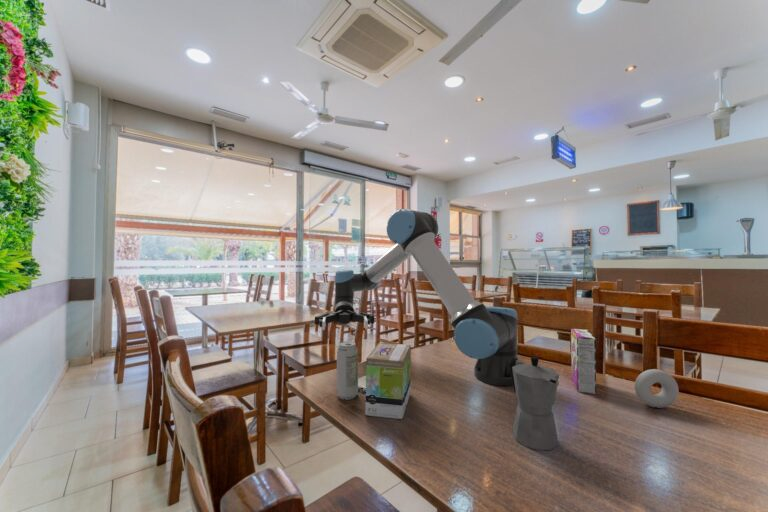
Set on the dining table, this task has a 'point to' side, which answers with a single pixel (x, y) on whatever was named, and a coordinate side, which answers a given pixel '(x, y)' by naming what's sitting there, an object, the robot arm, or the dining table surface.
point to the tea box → (388, 380)
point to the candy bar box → (583, 360)
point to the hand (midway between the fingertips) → (345, 325)
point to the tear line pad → (362, 383)
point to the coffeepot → (534, 404)
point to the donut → (666, 393)
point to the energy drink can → (347, 370)
